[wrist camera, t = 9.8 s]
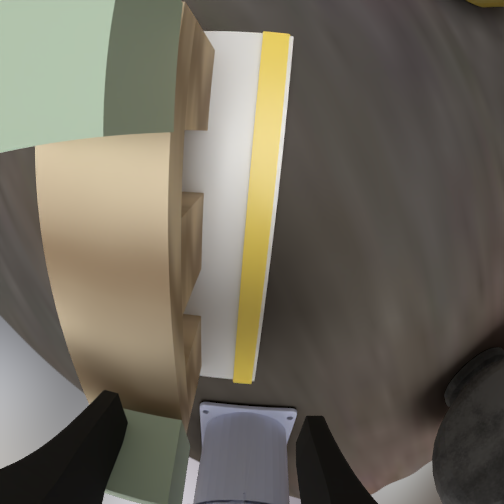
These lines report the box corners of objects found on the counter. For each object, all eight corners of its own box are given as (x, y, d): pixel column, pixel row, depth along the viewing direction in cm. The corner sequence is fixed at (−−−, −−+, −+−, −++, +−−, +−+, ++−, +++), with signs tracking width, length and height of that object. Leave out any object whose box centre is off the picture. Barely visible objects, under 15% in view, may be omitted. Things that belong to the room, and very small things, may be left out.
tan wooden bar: (201, 366, 18) (184, 441, 13) (129, 354, 18) (97, 421, 13) (215, 50, 12) (185, 1, 6) (117, 56, 12) (47, 29, 6)
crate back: (190, 446, 13) (180, 512, 10) (120, 431, 13) (105, 493, 10) (181, 420, 11) (167, 505, 8) (96, 401, 11) (73, 477, 8)
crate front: (173, 132, 8) (103, 136, 4) (58, 142, 8) (-36, 162, 4) (183, 3, 6) (131, -67, 2) (66, 27, 6) (-17, 0, 2)
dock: (255, 361, 21) (254, 384, 19) (99, 338, 21) (87, 357, 18) (289, 47, 13) (294, 34, 11) (84, 54, 13) (64, 48, 11)
